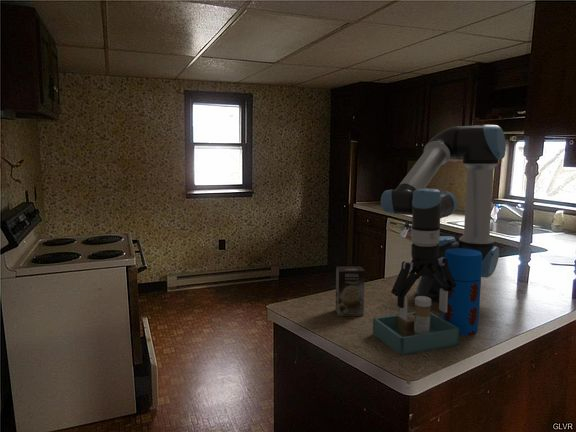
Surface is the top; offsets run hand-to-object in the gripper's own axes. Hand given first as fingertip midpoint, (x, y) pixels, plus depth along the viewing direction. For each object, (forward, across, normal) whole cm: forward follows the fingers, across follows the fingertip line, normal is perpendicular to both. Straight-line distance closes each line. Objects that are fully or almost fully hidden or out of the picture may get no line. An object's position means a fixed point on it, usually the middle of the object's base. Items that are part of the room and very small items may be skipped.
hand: (423, 314), depth 125 cm
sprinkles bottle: (+8, -1, 0) cm, 9 cm away
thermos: (+10, +17, +5) cm, 20 cm away
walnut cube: (+8, -1, +6) cm, 10 cm away
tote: (+9, -1, +3) cm, 10 cm away
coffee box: (+9, -10, +29) cm, 32 cm away
